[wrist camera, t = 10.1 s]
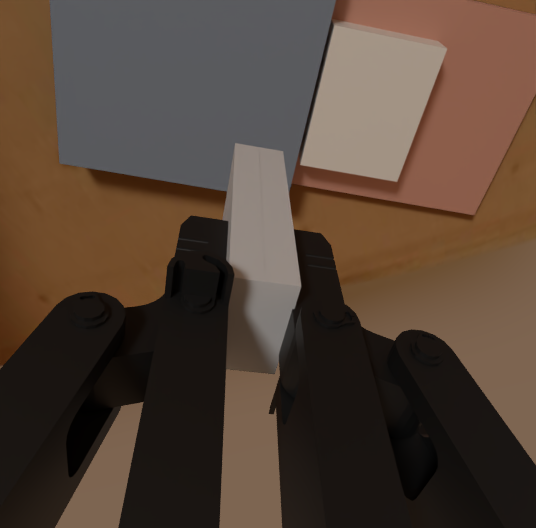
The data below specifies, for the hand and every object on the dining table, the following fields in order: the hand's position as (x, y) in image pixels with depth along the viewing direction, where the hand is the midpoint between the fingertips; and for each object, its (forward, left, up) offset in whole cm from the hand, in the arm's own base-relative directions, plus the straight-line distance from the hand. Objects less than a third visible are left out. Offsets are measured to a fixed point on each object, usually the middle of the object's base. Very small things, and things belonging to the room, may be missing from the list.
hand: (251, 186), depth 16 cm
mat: (+11, -2, -20) cm, 23 cm away
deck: (-4, -2, -20) cm, 21 cm away
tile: (+8, -2, -18) cm, 20 cm away
